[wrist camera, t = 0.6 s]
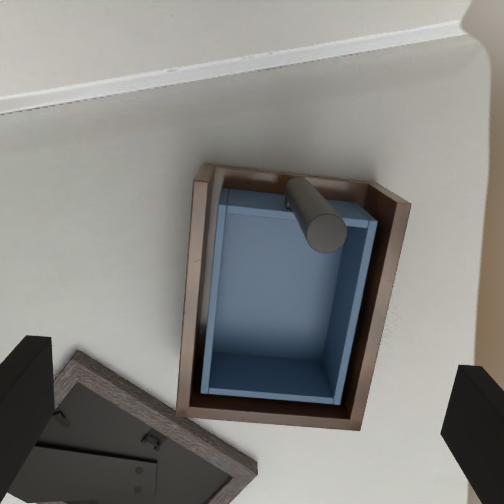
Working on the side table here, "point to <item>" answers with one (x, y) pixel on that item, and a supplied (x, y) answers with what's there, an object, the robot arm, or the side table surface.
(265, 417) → the walnut drawer box
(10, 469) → the robot arm
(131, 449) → the picture frame
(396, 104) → the side table surface
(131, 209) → the side table surface
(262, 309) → the blue drawer insert
